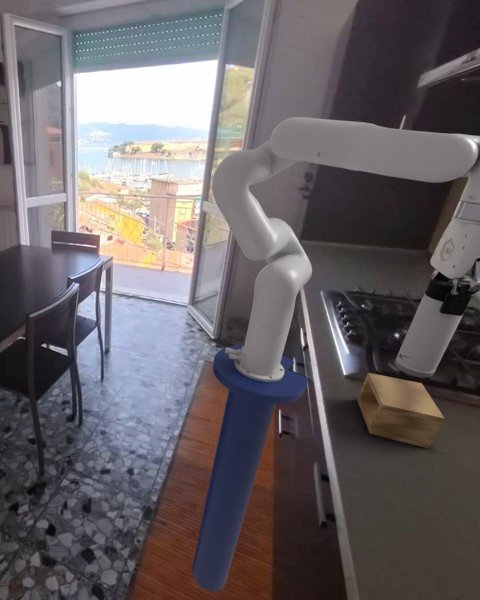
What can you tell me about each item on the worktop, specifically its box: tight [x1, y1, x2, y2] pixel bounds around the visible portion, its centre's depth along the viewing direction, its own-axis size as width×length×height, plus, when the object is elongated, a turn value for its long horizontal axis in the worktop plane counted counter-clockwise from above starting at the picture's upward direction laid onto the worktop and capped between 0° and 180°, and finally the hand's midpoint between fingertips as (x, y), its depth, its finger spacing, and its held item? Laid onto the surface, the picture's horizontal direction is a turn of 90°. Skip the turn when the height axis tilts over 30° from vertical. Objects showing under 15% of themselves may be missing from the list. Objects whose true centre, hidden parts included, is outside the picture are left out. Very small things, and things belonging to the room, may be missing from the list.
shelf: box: [356, 372, 445, 449], centre depth 79 cm, size 10×12×8 cm
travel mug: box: [394, 279, 464, 379], centre depth 71 cm, size 6×7×20 cm
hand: (442, 305), depth 69 cm, fingers closed on travel mug, 6 cm apart
